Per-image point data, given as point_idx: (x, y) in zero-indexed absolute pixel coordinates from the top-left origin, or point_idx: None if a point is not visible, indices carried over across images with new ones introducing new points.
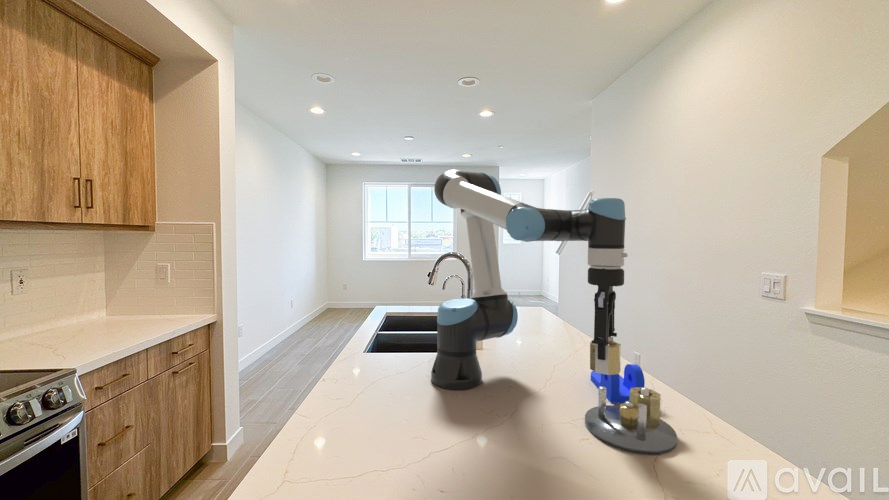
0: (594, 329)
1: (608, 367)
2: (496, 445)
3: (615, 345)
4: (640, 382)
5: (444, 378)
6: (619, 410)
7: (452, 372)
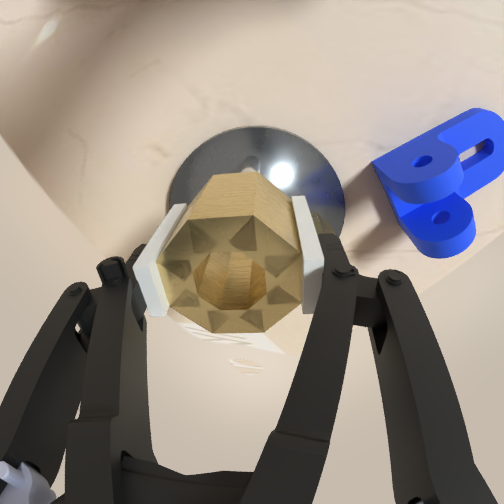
0: (40, 330)
1: None
2: (48, 54)
3: (225, 321)
4: (416, 242)
5: None
6: (316, 190)
7: None
